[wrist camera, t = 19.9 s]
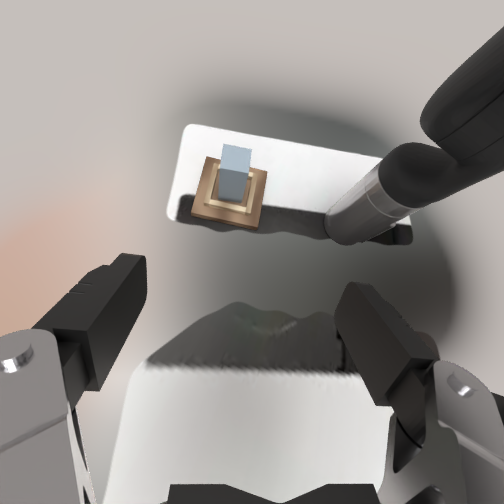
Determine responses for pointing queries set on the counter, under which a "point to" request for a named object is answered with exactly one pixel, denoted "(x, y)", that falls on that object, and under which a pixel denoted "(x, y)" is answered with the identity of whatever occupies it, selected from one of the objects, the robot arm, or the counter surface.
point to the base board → (229, 211)
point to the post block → (233, 173)
